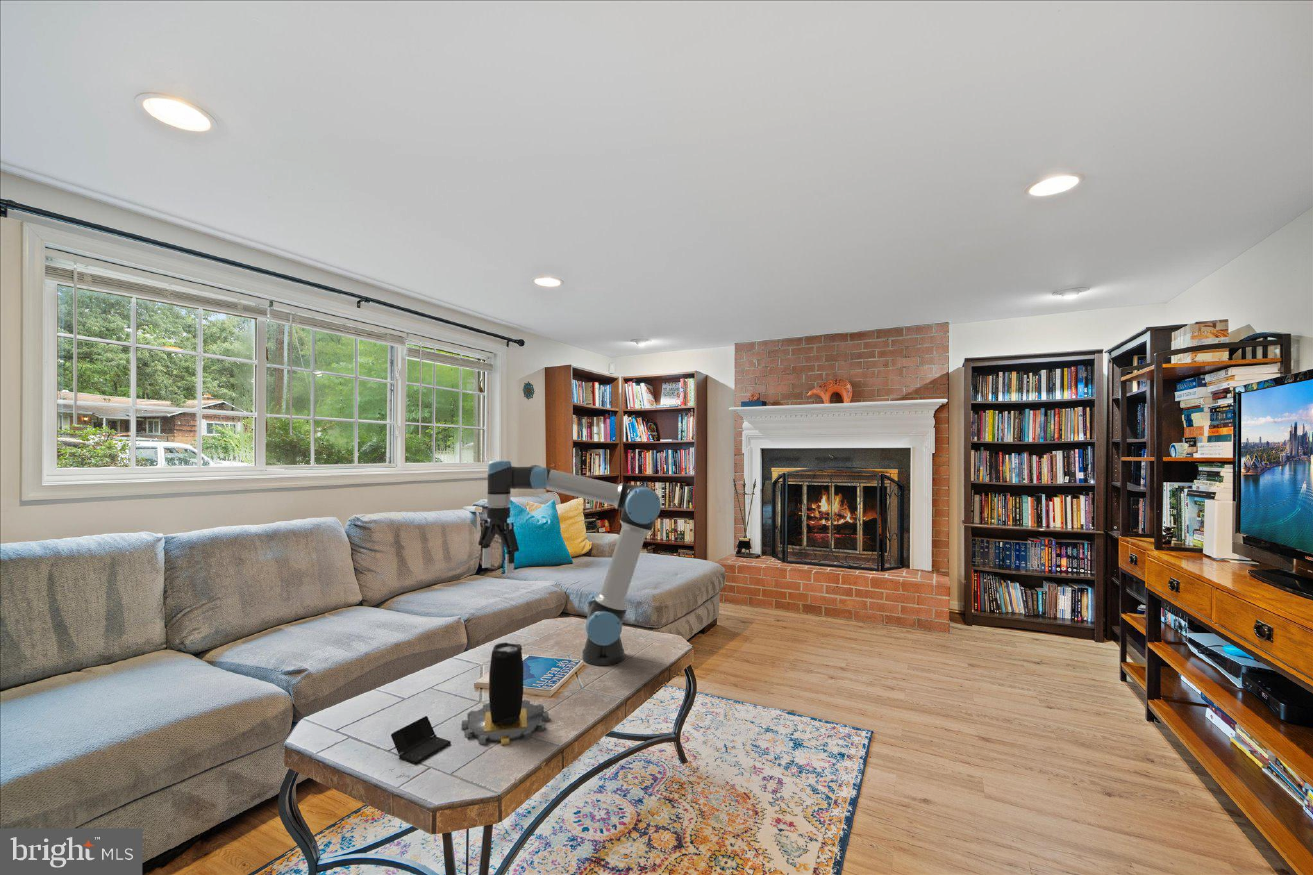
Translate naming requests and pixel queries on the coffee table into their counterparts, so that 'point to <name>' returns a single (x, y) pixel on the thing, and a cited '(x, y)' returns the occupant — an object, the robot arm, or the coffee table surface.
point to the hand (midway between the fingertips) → (497, 570)
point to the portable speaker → (506, 683)
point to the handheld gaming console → (418, 741)
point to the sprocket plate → (497, 732)
